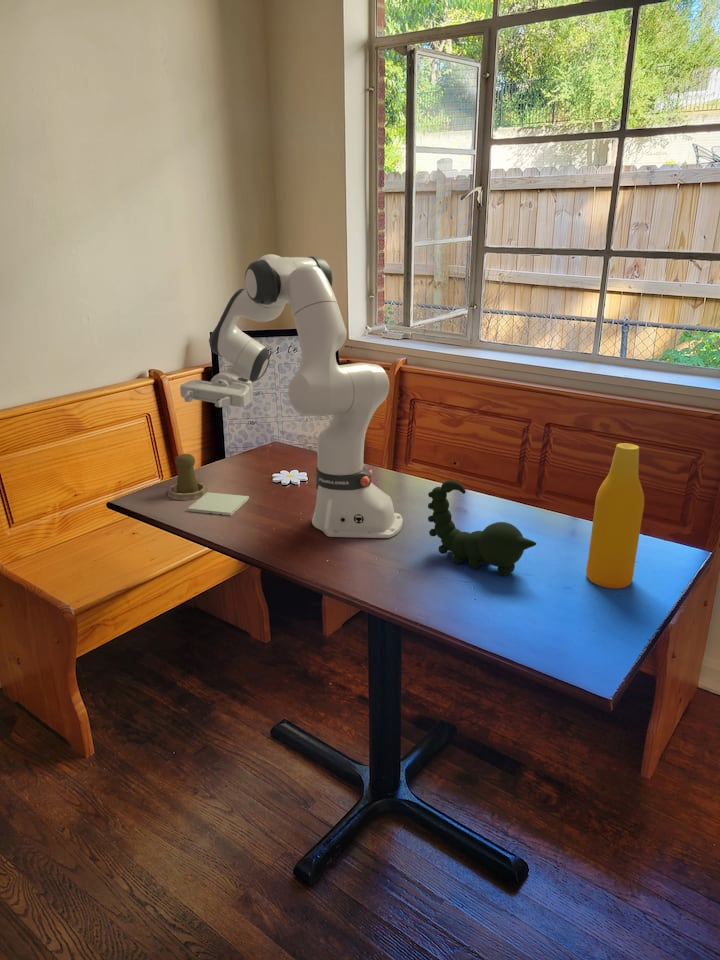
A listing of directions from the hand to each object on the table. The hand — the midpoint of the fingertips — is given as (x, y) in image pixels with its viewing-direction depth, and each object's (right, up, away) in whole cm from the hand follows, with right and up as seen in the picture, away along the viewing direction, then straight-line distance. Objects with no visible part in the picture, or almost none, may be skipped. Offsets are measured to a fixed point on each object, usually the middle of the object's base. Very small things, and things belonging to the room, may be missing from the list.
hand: (201, 401), depth 189 cm
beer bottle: (+96, -42, -46) cm, 114 cm away
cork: (-4, -25, 0) cm, 26 cm away
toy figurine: (+69, -40, -40) cm, 89 cm away
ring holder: (-4, -25, 0) cm, 25 cm away
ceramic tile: (+6, -28, -8) cm, 30 cm away
